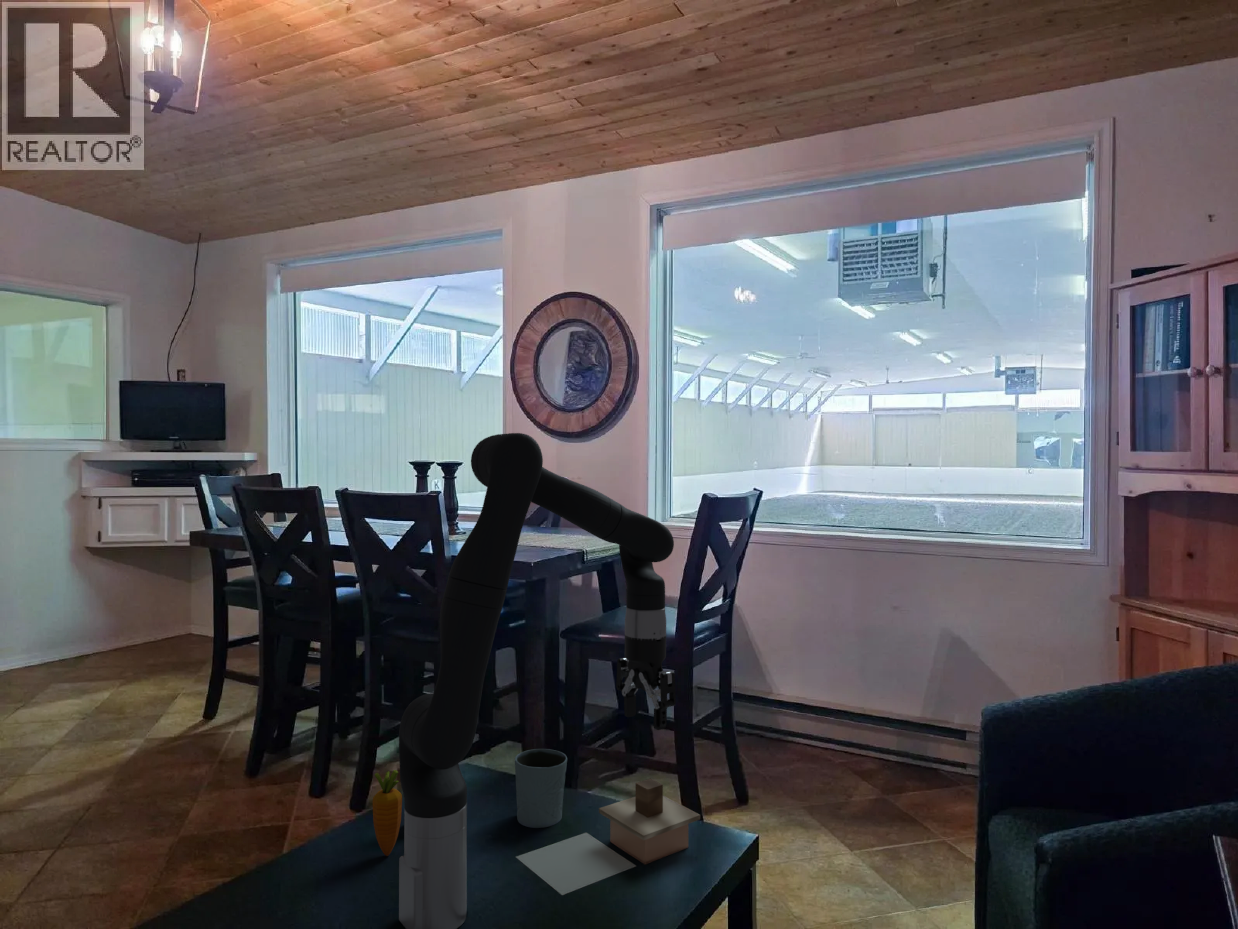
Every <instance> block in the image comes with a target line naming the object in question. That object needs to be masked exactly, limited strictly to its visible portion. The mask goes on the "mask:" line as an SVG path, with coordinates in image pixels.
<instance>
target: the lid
mask: <svg viewBox="0 0 1238 929" xmlns="http://www.w3.org/2000/svg"><path fill="white" fill-rule="evenodd" d="M634 795H635V796H632V797H629V798H627V799H623V800H621V801H617V802H613V803H611V804H608V805H604V806H602V807H598V814H600V815H601V816H603V817H604V818H607V819H608V820H609V821H610V820H611V821H613V822H615V823H616V824H618V825H619V826H621V827H623V828H624V829H626V830H628V831H629V832H631V833H632V834H634V835H636V836H637V837H639V838H641V839H642V840H646V839H649V838H652V837H654V836H657V835H660V834H662V833H665V832H668V831H670V830H673V829H676V828H678V827H681V826H684V825H686V824H688V825H690V824H692V823H694V822H697V821H700V820H701V814H699V813H698V812H696V811H693V810H692V809H690V808H688V807H686V806H684V805H683V804H680V803H679V802H677V801H676V800H673V799H670V798H668V797H667V796H666V795H664V784H662V783H661V782H658V781H656V780H654V779H653V778H647V779H644V780H641V781H638V782H635V794H634Z"/></svg>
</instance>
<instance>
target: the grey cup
mask: <svg viewBox="0 0 1238 929" xmlns="http://www.w3.org/2000/svg"><path fill="white" fill-rule="evenodd" d="M567 763H568V757H567V755H566V754H565V753H564V752H562V751H559V750H554V749H550V748H534V749H528V750H525V751H524V750H523V751H521V752H520V753H518V754H516V755H515V757H514V770H515V790H516V793H515V794H516V798H515V799H516V809H517V811H516V818H517V822H518V823H519V824H520V825H522V826H525V827H528V828H533V829H539V828H540V829H541V828H547V827H548V828H549V827H552V826H554V825H556V824H559V822H560V821H561V820H562V816H563V807H564V801H563V799H564V794H565V793H564V792H565V791H564V790H565V784H566V773H567V765H568V764H567Z"/></svg>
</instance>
